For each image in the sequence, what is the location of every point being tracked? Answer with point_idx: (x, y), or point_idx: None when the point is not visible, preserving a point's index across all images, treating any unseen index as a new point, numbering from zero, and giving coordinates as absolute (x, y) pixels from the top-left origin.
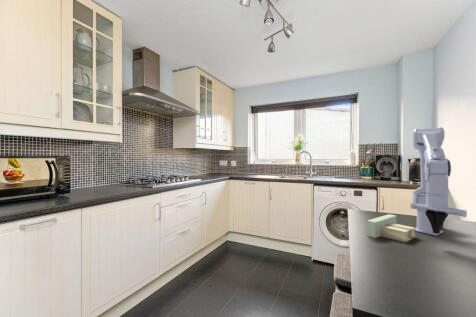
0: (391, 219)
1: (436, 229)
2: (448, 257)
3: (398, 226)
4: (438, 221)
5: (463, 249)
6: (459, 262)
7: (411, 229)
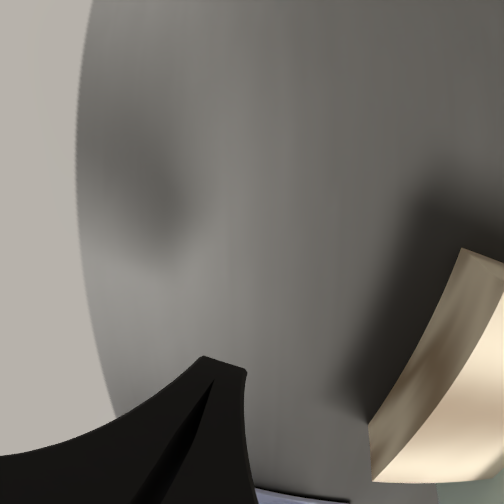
0: (501, 494)
1: (195, 385)
2: (174, 64)
3: (491, 435)
4: (108, 458)
5: (120, 340)
6: (128, 24)
7: (419, 427)
